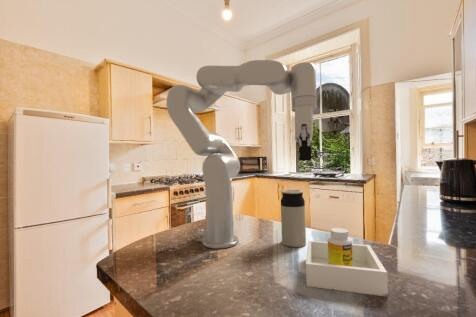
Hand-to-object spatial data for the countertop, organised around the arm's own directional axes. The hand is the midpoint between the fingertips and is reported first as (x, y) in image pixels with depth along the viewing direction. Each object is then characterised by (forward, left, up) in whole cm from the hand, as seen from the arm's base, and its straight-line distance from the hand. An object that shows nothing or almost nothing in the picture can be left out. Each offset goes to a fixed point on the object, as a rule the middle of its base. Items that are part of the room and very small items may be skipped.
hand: (305, 160), depth 72 cm
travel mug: (-5, +7, -28) cm, 30 cm away
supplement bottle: (+8, -12, -28) cm, 31 cm away
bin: (+8, -12, -28) cm, 32 cm away
